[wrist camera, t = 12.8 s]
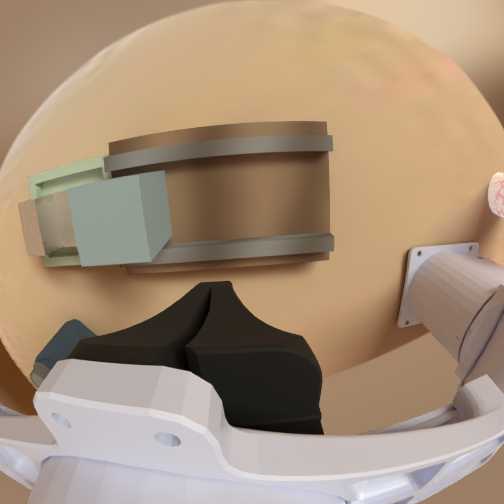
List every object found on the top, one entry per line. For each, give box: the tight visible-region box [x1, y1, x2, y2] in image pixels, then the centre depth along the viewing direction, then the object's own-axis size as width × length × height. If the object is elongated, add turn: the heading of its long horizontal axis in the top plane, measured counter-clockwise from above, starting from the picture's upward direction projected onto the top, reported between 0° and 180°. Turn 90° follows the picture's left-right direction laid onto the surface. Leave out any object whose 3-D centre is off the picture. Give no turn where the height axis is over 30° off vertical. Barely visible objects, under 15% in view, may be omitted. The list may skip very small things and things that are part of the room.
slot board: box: [103, 121, 334, 274], centre depth 18 cm, size 14×10×3 cm, turn 94°
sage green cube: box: [67, 170, 173, 267], centre depth 15 cm, size 4×4×5 cm
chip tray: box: [28, 155, 112, 267], centre depth 19 cm, size 9×8×1 cm
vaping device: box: [30, 320, 96, 388], centre depth 18 cm, size 3×5×12 cm, turn 44°
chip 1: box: [18, 192, 62, 256], centre depth 17 cm, size 4×4×2 cm
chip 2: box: [53, 190, 77, 247], centre depth 18 cm, size 4×4×2 cm
